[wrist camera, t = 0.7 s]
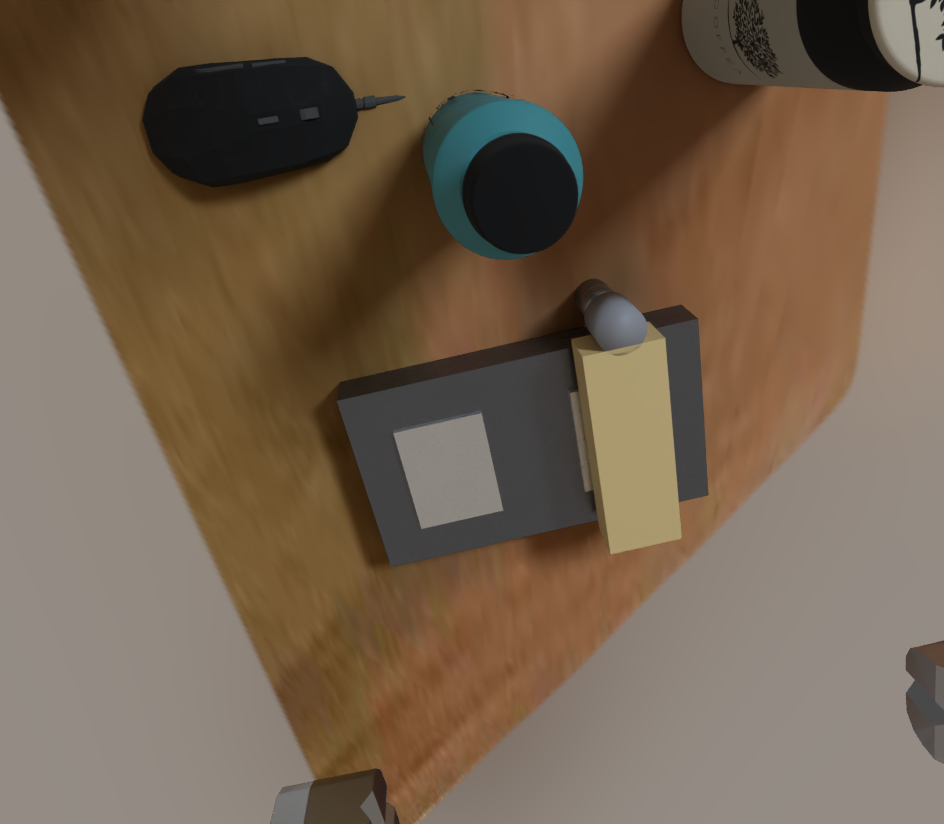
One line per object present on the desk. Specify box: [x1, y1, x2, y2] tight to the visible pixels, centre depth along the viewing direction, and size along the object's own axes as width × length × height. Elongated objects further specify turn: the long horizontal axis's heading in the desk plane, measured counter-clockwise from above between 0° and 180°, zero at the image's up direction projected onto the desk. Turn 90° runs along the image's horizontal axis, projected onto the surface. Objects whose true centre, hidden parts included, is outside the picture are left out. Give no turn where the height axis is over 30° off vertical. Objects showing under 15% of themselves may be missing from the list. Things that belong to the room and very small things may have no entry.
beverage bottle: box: [420, 90, 583, 260], centre depth 33 cm, size 6×7×20 cm
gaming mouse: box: [143, 57, 406, 187], centre depth 39 cm, size 6×15×4 cm, turn 98°
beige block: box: [571, 292, 682, 554], centre depth 45 cm, size 18×5×3 cm, turn 12°
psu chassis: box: [337, 279, 708, 567], centre depth 49 cm, size 17×24×4 cm
